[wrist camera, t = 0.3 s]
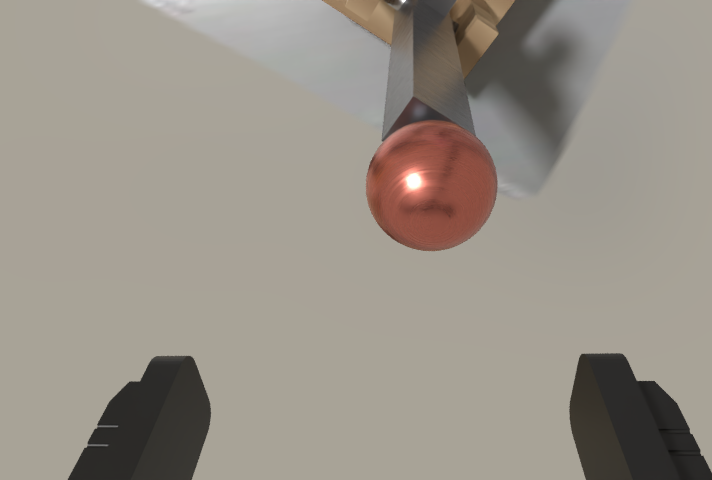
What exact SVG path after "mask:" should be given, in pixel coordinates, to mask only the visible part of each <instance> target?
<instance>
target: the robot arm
mask: <svg viewBox="0 0 712 480" xmlns="http://www.w3.org/2000/svg"><path fill="white" fill-rule="evenodd" d="M210 417H211V408H210V402H209V399H208V396H207V393H206V390H205V388H204V385H203V382H202V379H201V377H200V374H199V371H198V368H197V366H196V363H195V361H194V359H193V358H192V357H191V356H156V357H154V358H153V359H152V360H151V361H150V363H149V365H148V367H147V369H146V371H145V373H144V375H143V377H142V379H141V381H140V382H129V383H128V384H127V385H126V386H125V387H124V388H123V389H122V390H121V391H120V392H119V393H118V394H117V395H116V396H115V397H114V398H113V399H112V400H111V401H110V402H109V404H108V405H107V407H106V409H105V411H104V413H103V415H102V417H101V419H100V420H99V422H98V424H97V425H98V427H97V429H95V430H94V432H93V434H92V435H91V437H90V439H89V441H88V446H87V448H84V450H83V452H82V454H81V456H80V458H79V460H78V462H77V463H76V465H75V467H74V469H73V471H72V473H71V475H70V476H69V478H68V480H192V477H193V473H194V471H195V468H196V465H197V462H198V459H199V456H200V453H201V450H202V447H203V444H204V441H205V439H206V435H207V433H208V429H209V425H210ZM570 424H571V429H572V434H573V437H574V440H575V444H576V448H577V451H578V454H579V458H580V461H581V464H582V468H583V471H584V475H585V478H586V480H712V473H711V471H710V469H709V467H708V465H707V463H706V461H705V459H704V457H703V456H701V454H700V449H699V447H698V445H697V443H696V441H695V439H694V437H693V435H692V434H690V429H689V427H688V425H687V423H686V421H685V419H684V417H683V415H682V413H681V411H680V409H679V407H678V405H677V403H676V402H675V401H674V400H673V399H672V398H671V397H670V396H669V395H668V394H667V393H666V392H665V391H664V390H663V389H662V388H661V387H660V386H659V385H658V384H656V382H655V381H636V378H635V376H634V374H633V372H632V369H631V367H630V365H629V363H628V361H627V359H626V357H625V356H624V355H623V354H617V353H616V354H581V356H580V358H579V362H578V366H577V371H576V376H575V381H574V385H573V390H572V395H571V400H570Z"/></svg>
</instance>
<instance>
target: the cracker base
mask: <svg viewBox="0 0 712 480" xmlns="http://www.w3.org/2000/svg"><path fill="white" fill-rule="evenodd" d="M322 1H324V2H325V3H327V4H329V5H330V6H332V7H333V8H335V9H336V10H338V11H339V12H341V13H342V14H344V15H345V16H347V17H348V18H350V19H351V20H353V21H355V22H356V23H358V24H359V25H361V26H362V27H364V28H365V29H367V30H368V31H370V32H371V33H373V34H374V35H376V36H378V37H379V38H381V39H382V40H384V41H385V42H387V43H388V44H390V45H391V43H392V33H393V23H394V13H395V9H394V8H393V7H392V6H390V5H389V4H387V3H386V2H384V0H322ZM514 1H515V0H457V1H456V2H455V4H454V5H453V7H452V8H451V9H450V16H451V19H452V20H454V21H455V22H457V23H458V24H459V28H458V30H457V32H456V34H455V40H456V44H457V49H458V54H459V59H460V64H461V68H462V73H463V78H464V79H465V78H466V76H467V75H468V74H469V72H470V71H471V70H472V68H473V67H474V66H475V64H476V63H477V62H478V60H479V59H480V58H481V56H482V55H483V54H484V52H485V51H486V50H487V49H488V47H489V46H490V45H491V43H492V42H493V41H494V39H495V38H496V37H497V35H498V34H499V33H498V30H497V28H496V25H497V24H498V23H499V21H500V20H501V19H502V17H503V16H504V15H505V13H506V12H507V11H508V9H509V8H510V7H511V5H512V4H513V3H514Z"/></svg>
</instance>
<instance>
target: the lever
mask: <svg viewBox="0 0 712 480" xmlns="http://www.w3.org/2000/svg"><path fill="white" fill-rule="evenodd" d="M456 1H457V0H384V2H386V3H387V4H389V5H390V6H392V7H393V8H394V9H395V13H394V23H393V33H392V43H391V53H390V63H389V73H388V82H387V92H386V102H385V112H384V122H383V132H382V141H383V143H382V144H381V145H380V146H379V148H378V149H377V151H376V153H375V154H374V156H373V158H372V160H371V162H370V165H369V169H368V173H367V178H366V195H367V200H368V204H369V208H370V210H371V213H372V215H373V217H374V218H375V220H376V222H377V223H378V225H379V226H380V227H381V228H382V229H383V231H384V232H385V233H386V234H387V235H389V236H390V237H391V238H392V239H394V240H395V241H397V242H398V243H400V244H403V245H405V246H407V247H410V248H413V249H417V250H423V251H439V250H445V249H449V248H452V247H455V246H457V245H459V244H461V243H463V242H465V241H467V240H468V239H470V238H471V237H472V236H474V235H475V234H476V233H477V232H478V231H479V230H480V229H481V227H482V226H483V225H484V224H485V223H486V221H487V219H488V218H489V216H490V214H491V212H492V209H493V207H494V204H495V200H496V195H497V174H496V169H495V166H494V163H493V160H492V158H491V155H490V154H489V152H488V150H487V149H486V147H485V146H484V145H483V143H482V142H481V141H480V140H479V139H478V138H477V137H476V135H475V130H474V125H473V121H472V116H471V111H470V106H469V102H468V97H467V92H466V87H465V83H464V78H463V73H462V68H461V64H460V59H459V54H458V49H457V44H456V40H455V34H456V32H457V30H458V28H459V24H458V23H457V22H455V21H454V20H452V19H451V16H450V9H451V8H452V7H453V5H454V4H455V2H456Z"/></svg>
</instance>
